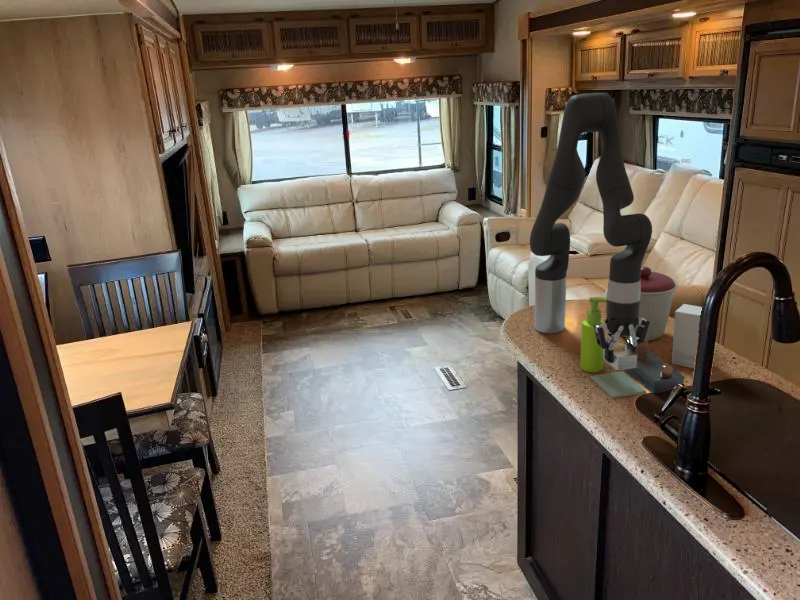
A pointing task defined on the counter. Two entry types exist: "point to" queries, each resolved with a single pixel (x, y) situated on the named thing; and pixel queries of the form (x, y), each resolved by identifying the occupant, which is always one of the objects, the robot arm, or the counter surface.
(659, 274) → the canister
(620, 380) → the rubber mat
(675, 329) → the skincare box
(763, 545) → the counter surface
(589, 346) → the soap dispenser
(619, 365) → the lever cap
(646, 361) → the hand plane
